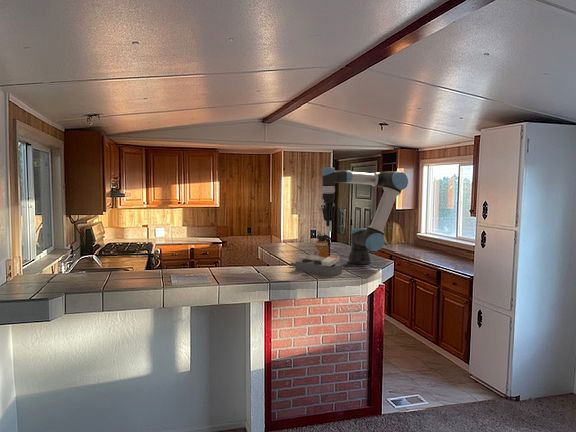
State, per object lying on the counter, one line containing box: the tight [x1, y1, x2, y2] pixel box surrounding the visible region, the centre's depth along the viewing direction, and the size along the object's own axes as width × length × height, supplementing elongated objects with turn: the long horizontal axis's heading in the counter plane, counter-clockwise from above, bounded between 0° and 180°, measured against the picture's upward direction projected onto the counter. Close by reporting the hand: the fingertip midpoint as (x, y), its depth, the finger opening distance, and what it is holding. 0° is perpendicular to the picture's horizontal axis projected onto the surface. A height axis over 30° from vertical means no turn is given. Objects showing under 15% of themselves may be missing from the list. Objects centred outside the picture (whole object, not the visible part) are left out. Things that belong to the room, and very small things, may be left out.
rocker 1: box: [297, 252, 312, 260], centre depth 276 cm, size 10×6×3 cm, turn 140°
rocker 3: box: [321, 254, 341, 266], centre depth 264 cm, size 10×6×3 cm, turn 139°
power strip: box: [290, 258, 343, 277], centre depth 273 cm, size 11×35×6 cm, turn 49°
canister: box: [314, 234, 332, 261], centre depth 288 cm, size 9×11×20 cm
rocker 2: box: [309, 254, 326, 262], centre depth 270 cm, size 10×6×3 cm, turn 140°
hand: (329, 231), depth 273 cm, fingers closed
